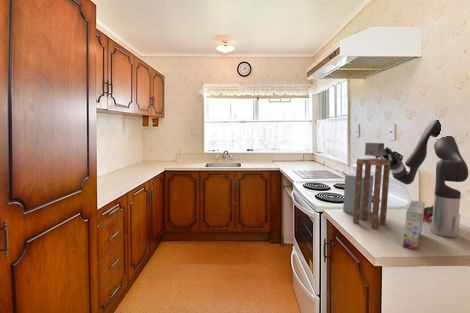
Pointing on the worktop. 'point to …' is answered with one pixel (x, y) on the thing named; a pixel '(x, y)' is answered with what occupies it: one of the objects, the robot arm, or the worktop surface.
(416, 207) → the snack box
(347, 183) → the slate pedestal
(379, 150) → the metal bar
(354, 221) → the walnut stand
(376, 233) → the worktop surface
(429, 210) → the foo dog statuette
